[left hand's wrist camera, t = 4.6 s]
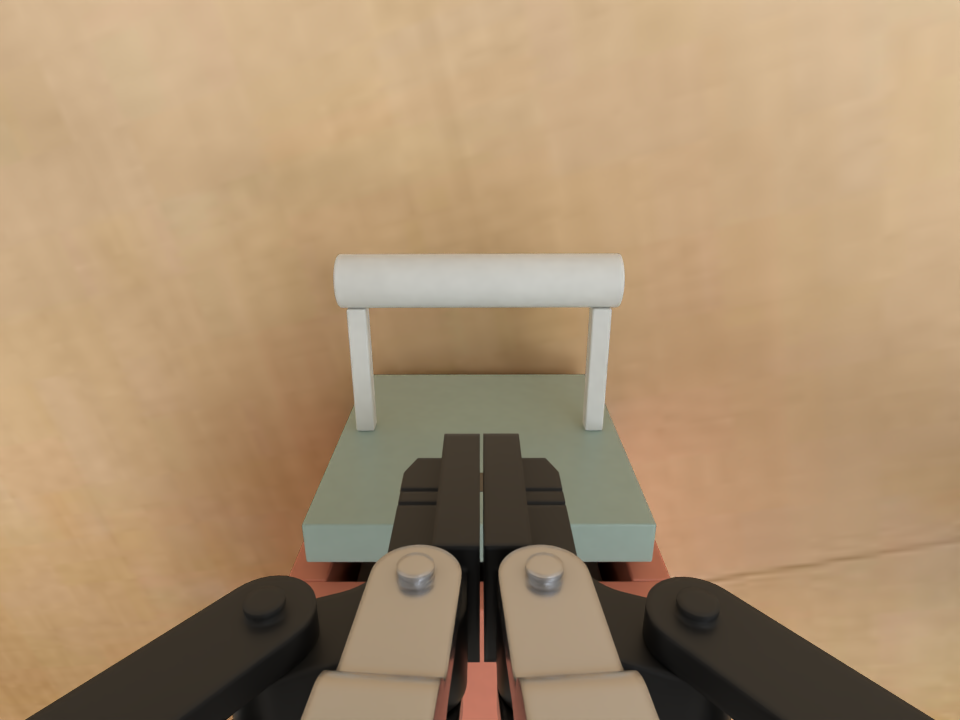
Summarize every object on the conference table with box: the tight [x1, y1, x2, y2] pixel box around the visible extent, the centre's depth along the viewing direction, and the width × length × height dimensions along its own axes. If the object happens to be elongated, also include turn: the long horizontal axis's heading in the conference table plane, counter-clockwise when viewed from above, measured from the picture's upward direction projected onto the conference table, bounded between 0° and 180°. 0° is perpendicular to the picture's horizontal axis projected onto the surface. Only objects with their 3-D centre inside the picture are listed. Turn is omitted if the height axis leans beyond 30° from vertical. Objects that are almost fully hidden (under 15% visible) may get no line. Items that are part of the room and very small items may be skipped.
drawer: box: [302, 253, 656, 582], centre depth 23 cm, size 25×9×10 cm, turn 0°
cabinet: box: [289, 540, 670, 720], centre depth 25 cm, size 21×10×12 cm, turn 0°
